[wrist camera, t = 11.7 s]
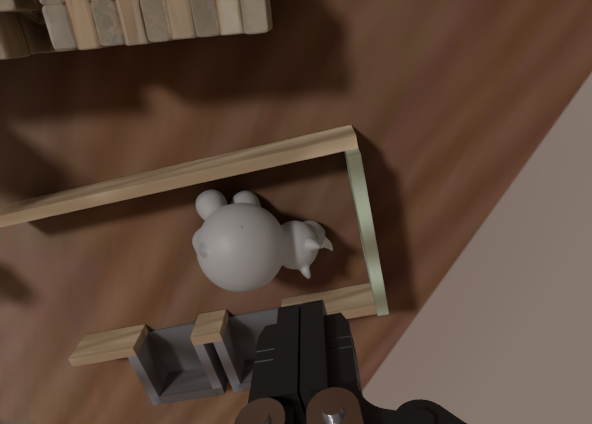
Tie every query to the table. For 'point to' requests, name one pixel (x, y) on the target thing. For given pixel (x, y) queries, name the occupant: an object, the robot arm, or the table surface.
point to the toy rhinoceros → (251, 242)
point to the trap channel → (218, 325)
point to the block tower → (121, 23)
